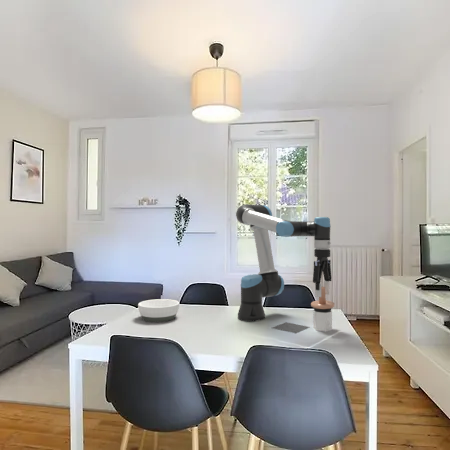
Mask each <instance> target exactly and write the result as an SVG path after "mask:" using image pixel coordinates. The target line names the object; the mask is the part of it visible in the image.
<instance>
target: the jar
mask: <svg viewBox="0 0 450 450" xmlns="http://www.w3.org/2000/svg"><path fill="white" fill-rule="evenodd" d="M312 315H313V316H312V317H313V321H312V323H313V324H312V325H313V326H312V327H313V329H314V330H315V331H319V332H331V331H332V330H333V312H332V308H330V309H317V308H313V310H312Z"/></svg>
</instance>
